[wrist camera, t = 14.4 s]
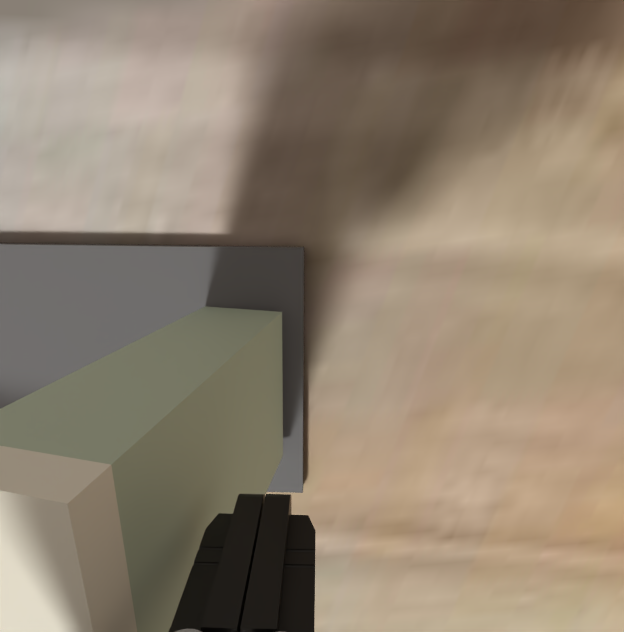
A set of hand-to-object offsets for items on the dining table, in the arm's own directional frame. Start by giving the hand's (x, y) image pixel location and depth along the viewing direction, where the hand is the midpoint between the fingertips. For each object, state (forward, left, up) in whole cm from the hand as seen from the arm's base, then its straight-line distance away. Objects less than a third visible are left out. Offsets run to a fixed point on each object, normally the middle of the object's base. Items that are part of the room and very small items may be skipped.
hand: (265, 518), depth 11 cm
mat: (+8, 0, -10) cm, 13 cm away
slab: (+2, 0, -9) cm, 9 cm away
